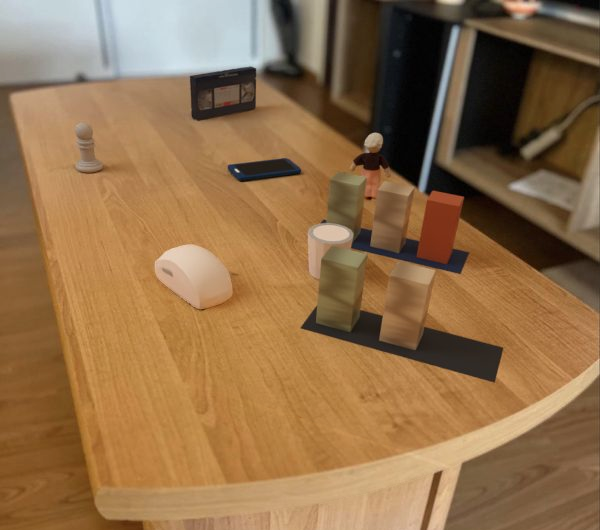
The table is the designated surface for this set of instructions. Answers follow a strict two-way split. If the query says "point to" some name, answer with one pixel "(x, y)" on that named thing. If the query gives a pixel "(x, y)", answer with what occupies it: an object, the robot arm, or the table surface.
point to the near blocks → (398, 305)
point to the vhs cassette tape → (223, 92)
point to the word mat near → (421, 346)
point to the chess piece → (86, 149)
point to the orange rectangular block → (439, 226)
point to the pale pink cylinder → (326, 243)
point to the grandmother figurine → (372, 165)
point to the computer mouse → (194, 275)
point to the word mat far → (409, 253)
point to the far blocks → (388, 209)
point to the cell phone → (263, 169)
